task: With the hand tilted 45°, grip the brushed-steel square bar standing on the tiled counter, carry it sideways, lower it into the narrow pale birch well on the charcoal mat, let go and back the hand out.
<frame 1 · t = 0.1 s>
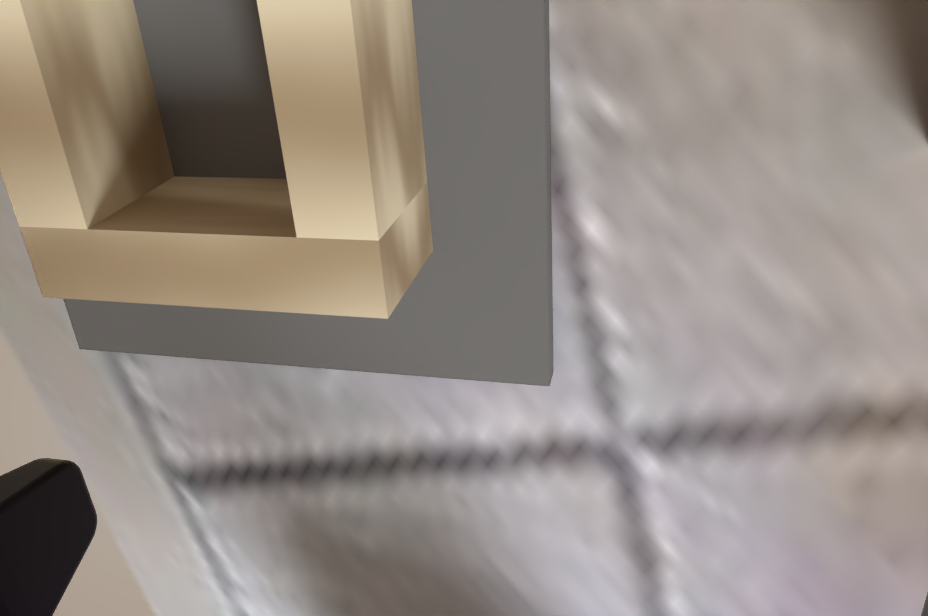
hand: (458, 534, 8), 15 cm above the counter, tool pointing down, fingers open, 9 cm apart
mat: (258, 70, 22), on the counter
well: (206, 95, 20), on the mat, point 3 cm above the counter
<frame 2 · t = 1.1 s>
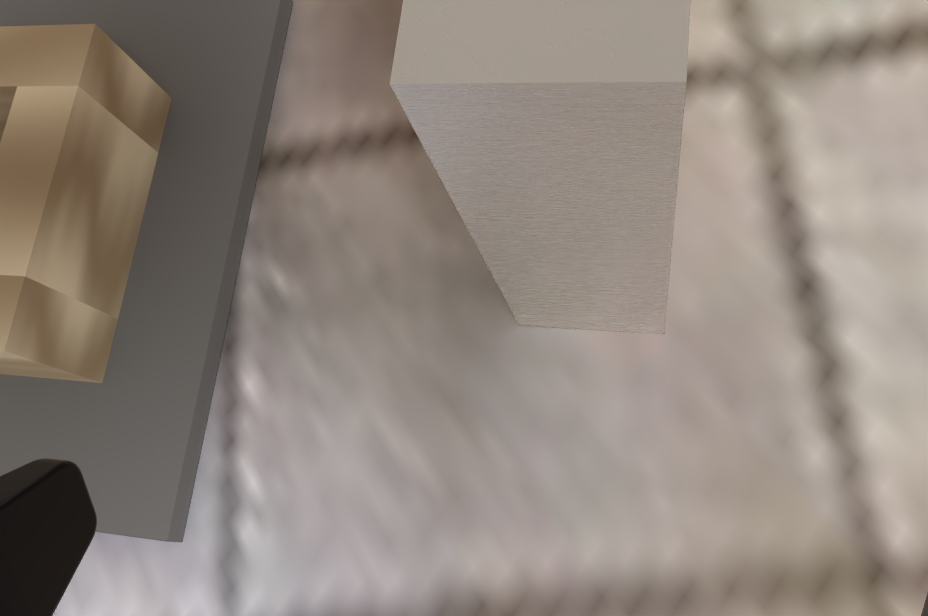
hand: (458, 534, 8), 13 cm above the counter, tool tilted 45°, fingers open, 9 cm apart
steel bar: (595, 261, 23), on the counter
mat: (27, 237, 28), on the counter
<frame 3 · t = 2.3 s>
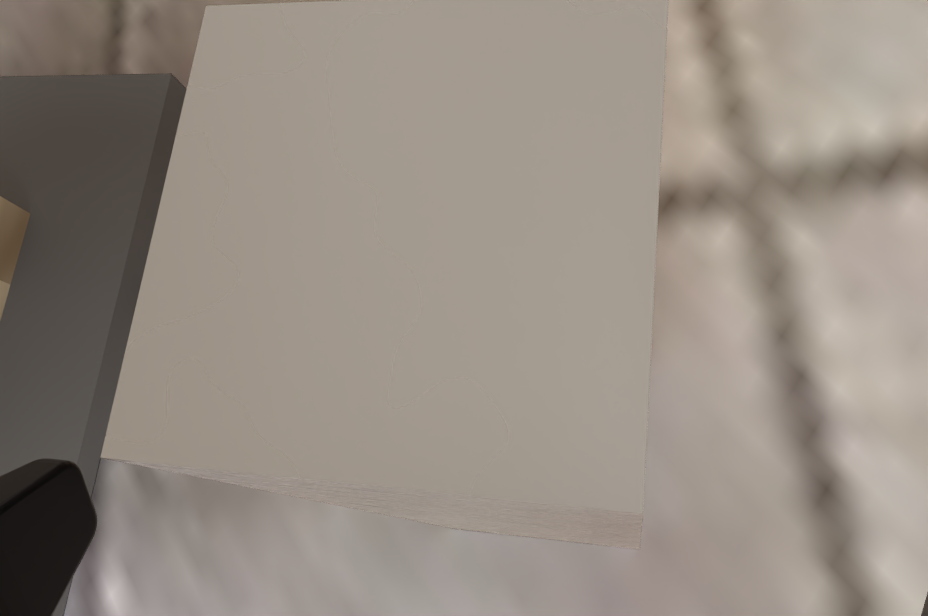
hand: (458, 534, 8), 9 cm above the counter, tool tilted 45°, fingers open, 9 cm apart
steel bar: (551, 444, 18), on the counter
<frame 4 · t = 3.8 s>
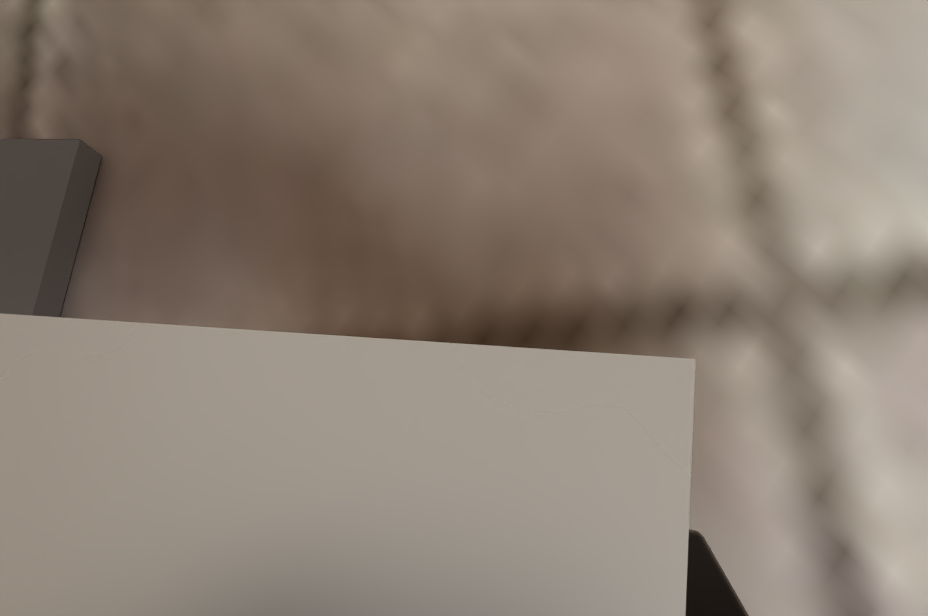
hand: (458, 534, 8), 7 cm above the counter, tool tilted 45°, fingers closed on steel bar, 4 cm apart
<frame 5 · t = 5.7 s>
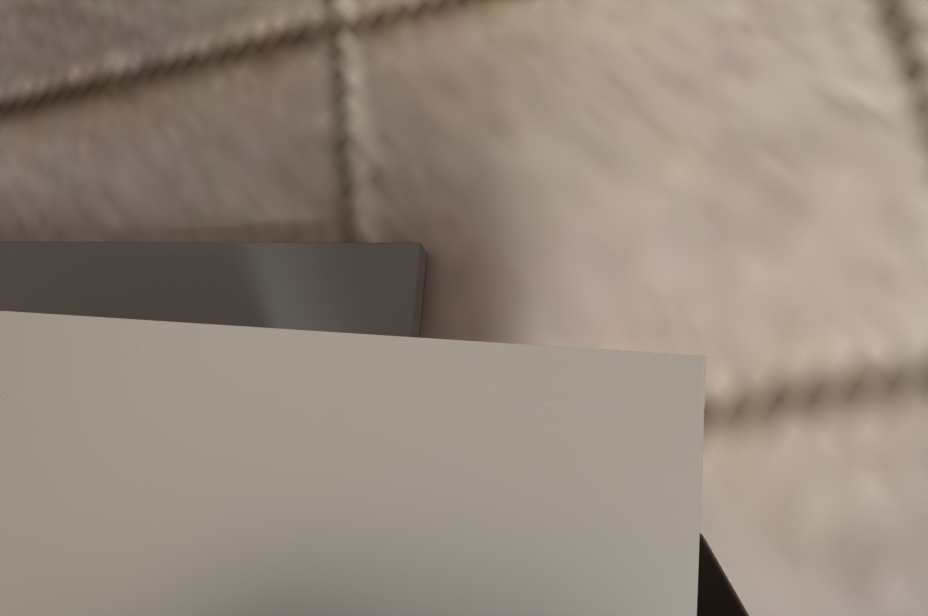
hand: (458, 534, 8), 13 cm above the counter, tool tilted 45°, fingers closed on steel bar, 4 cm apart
mat: (127, 549, 23), on the counter
when the fingers open (8 cm above the counter, at t = 7.9 s): steel bar stays where it is, resting on mat.
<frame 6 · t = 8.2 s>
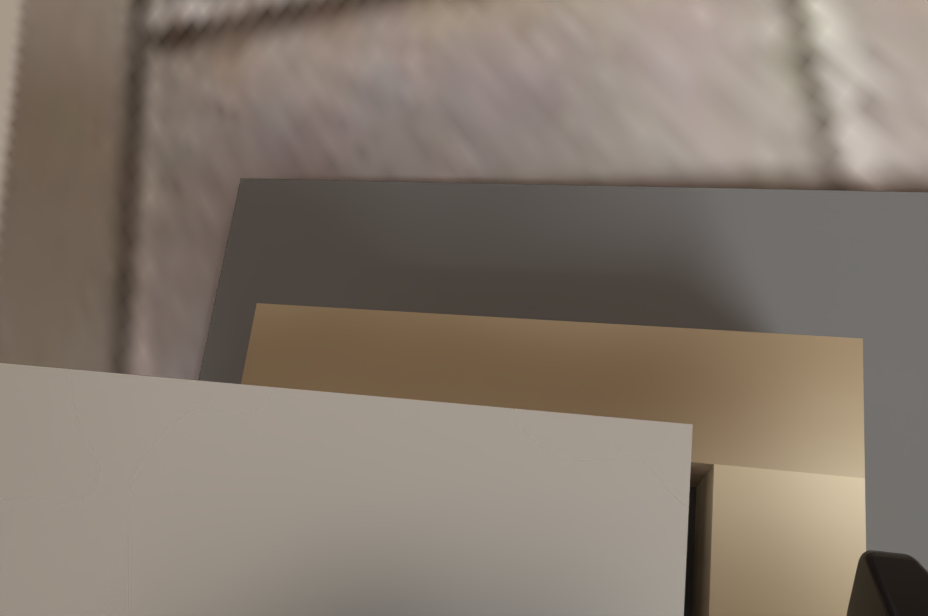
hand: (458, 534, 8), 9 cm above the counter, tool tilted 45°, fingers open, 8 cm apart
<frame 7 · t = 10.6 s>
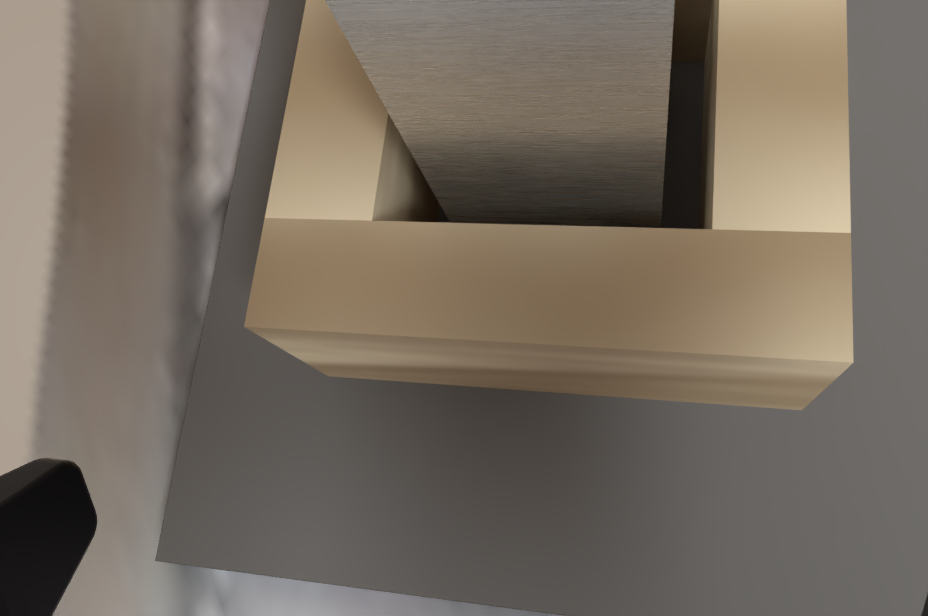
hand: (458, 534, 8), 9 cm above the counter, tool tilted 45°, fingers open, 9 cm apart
steel bar: (569, 175, 18), point 1 cm above the counter, touching mat
mat: (570, 191, 19), on the counter
well: (558, 131, 16), on the mat, point 3 cm above the counter
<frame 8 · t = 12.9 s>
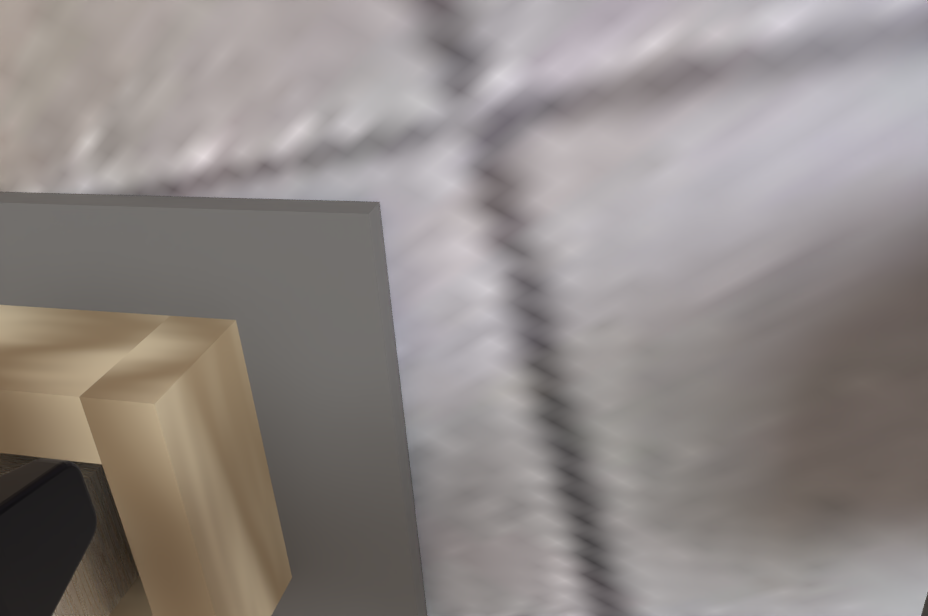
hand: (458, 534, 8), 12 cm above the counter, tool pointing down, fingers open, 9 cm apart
steel bar: (124, 444, 25), point 1 cm above the counter, touching mat
mat: (140, 430, 26), on the counter
well: (85, 487, 24), on the mat, point 3 cm above the counter
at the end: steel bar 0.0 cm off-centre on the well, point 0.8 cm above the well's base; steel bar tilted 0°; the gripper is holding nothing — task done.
